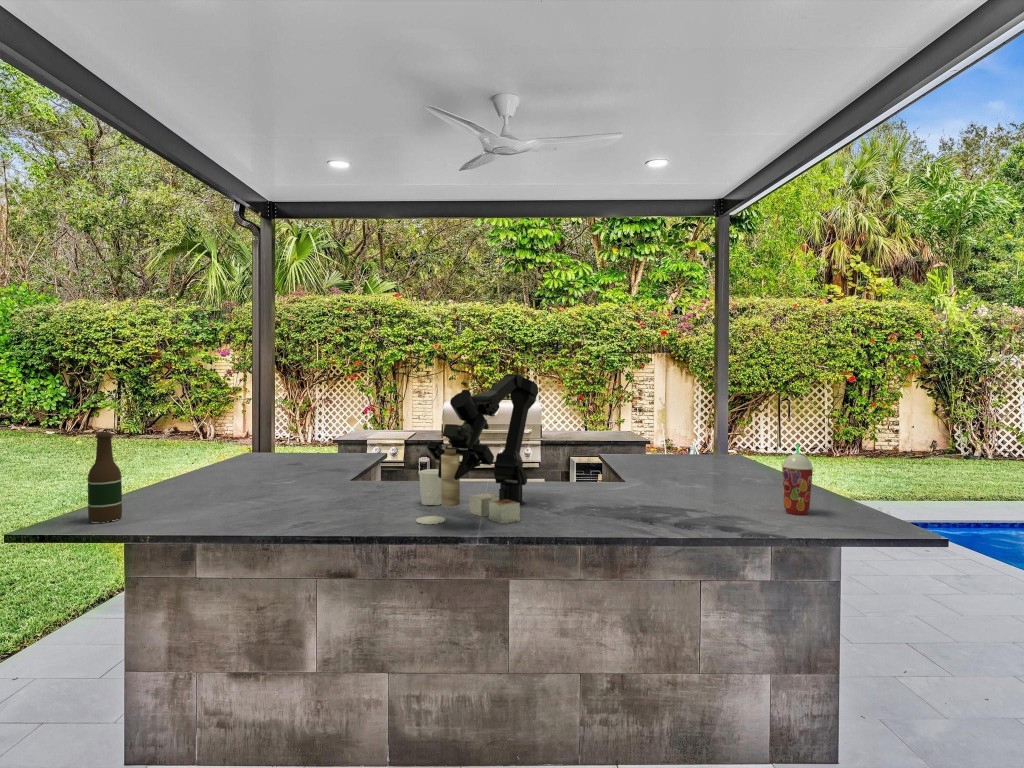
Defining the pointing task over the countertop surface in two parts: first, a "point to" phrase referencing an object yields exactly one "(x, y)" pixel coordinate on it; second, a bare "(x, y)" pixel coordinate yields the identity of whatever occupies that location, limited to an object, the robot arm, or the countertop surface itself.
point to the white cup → (430, 487)
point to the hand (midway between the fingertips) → (447, 478)
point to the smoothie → (797, 483)
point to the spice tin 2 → (504, 511)
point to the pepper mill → (450, 478)
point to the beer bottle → (104, 483)
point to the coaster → (430, 520)
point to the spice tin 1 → (481, 503)
